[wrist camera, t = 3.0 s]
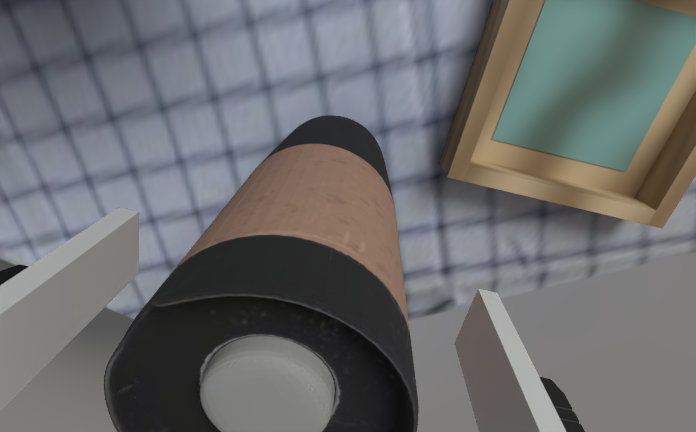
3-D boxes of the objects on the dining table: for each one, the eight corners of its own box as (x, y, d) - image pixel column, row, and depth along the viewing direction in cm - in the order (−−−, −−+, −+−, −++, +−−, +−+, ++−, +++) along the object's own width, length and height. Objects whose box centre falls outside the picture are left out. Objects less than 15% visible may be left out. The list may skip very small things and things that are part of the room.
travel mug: (390, 213, 29) (427, 520, 11) (286, 220, 29) (152, 521, 11) (384, 105, 26) (420, 275, 8) (268, 115, 26) (42, 296, 8)
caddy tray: (439, 163, 27) (447, 177, 24) (522, -84, 21) (544, -101, 19) (633, 209, 28) (662, 228, 25) (764, -18, 22) (821, -25, 19)
